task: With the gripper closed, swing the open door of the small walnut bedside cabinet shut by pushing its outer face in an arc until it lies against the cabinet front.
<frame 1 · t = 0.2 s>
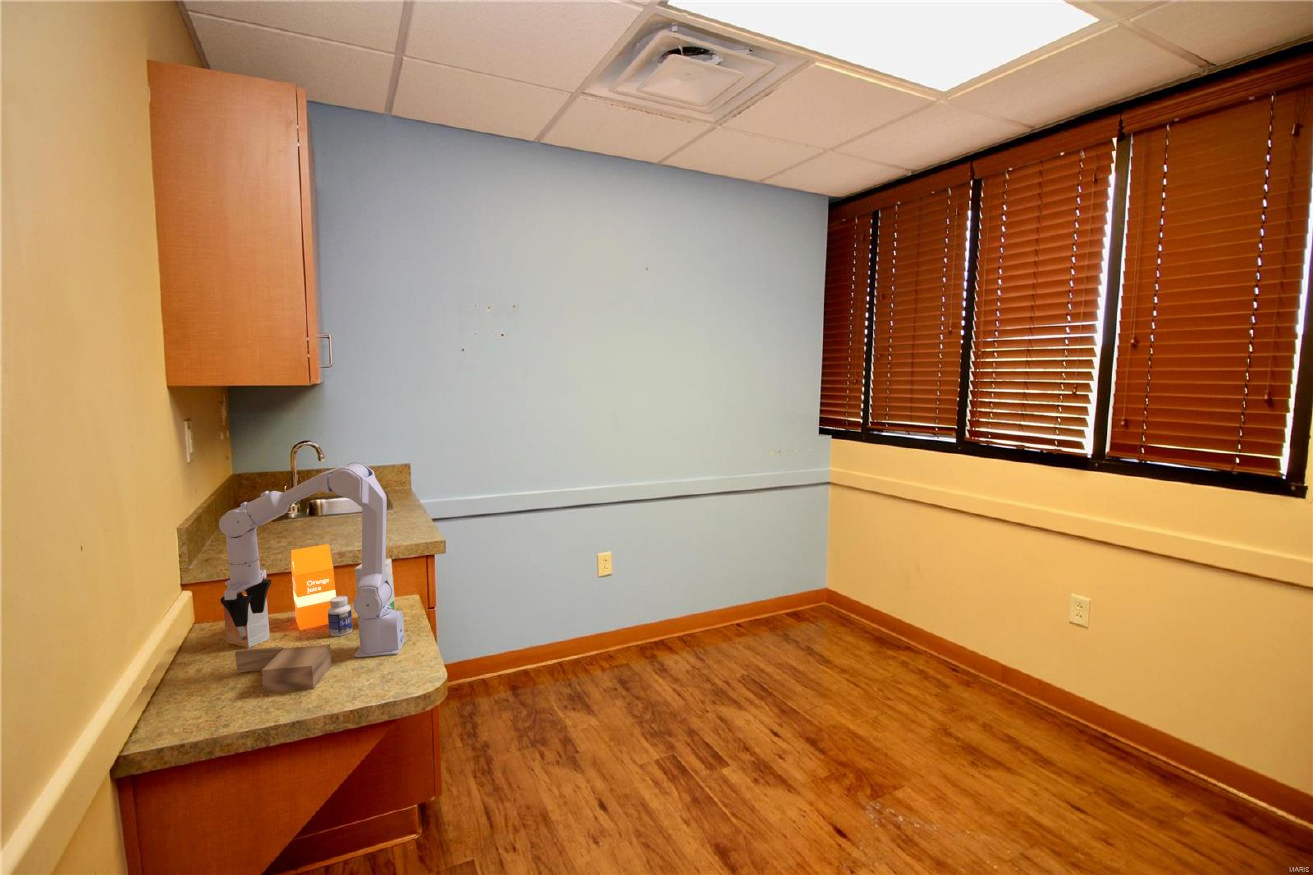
hand: (249, 619, 140), 10 cm above the countertop, fingers open, 7 cm apart
skincare box: (377, 621, 163), on the countertop
small box: (248, 642, 152), on the countertop
door: (262, 659, 136), point 3 cm above the countertop, hinge at 90.0°
cabinet: (299, 679, 132), on the countertop
pill bottle: (341, 633, 156), on the countertop
orange juice: (316, 621, 163), on the countertop
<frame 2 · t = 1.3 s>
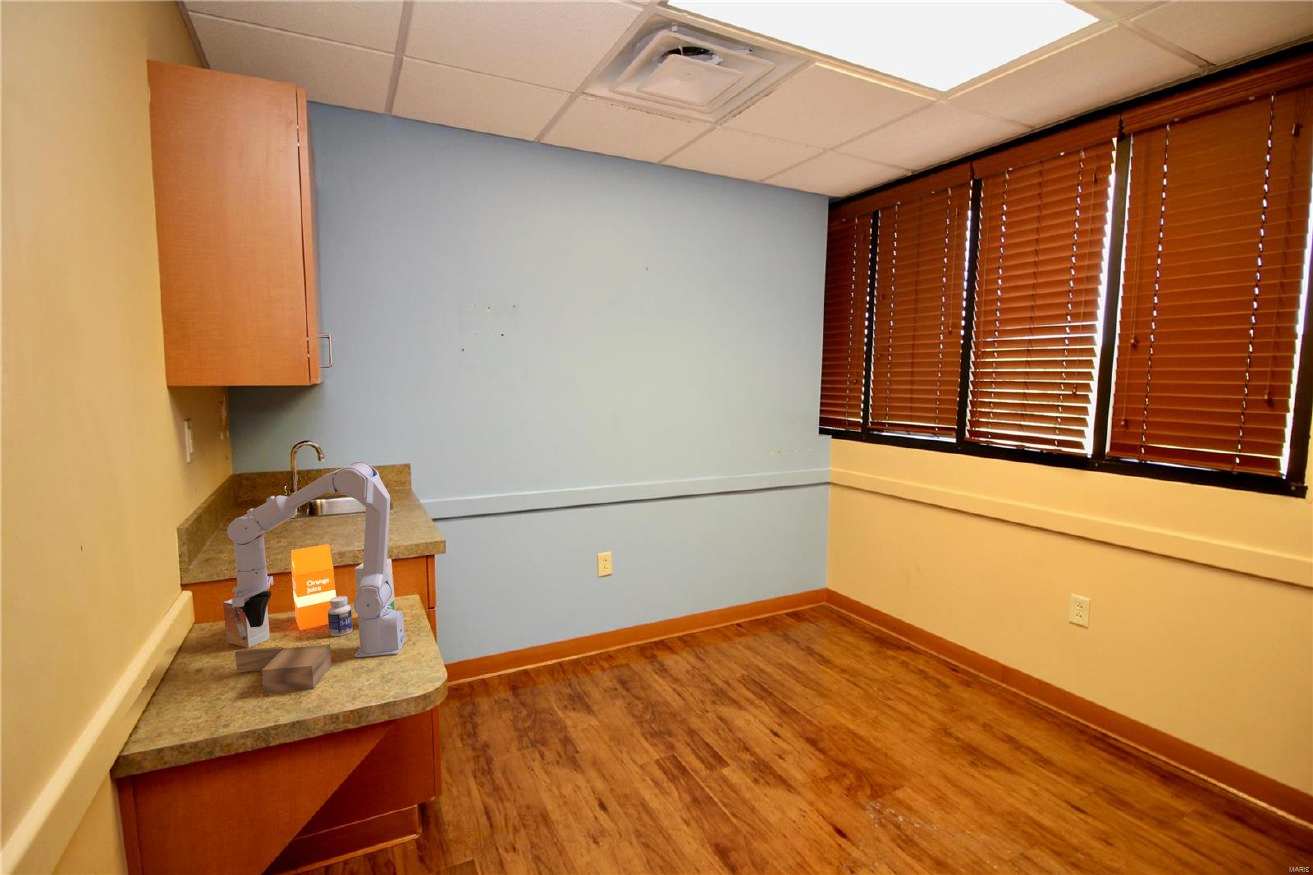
hand: (256, 626, 140), 8 cm above the countertop, fingers closed
nothing on the countertop moved.
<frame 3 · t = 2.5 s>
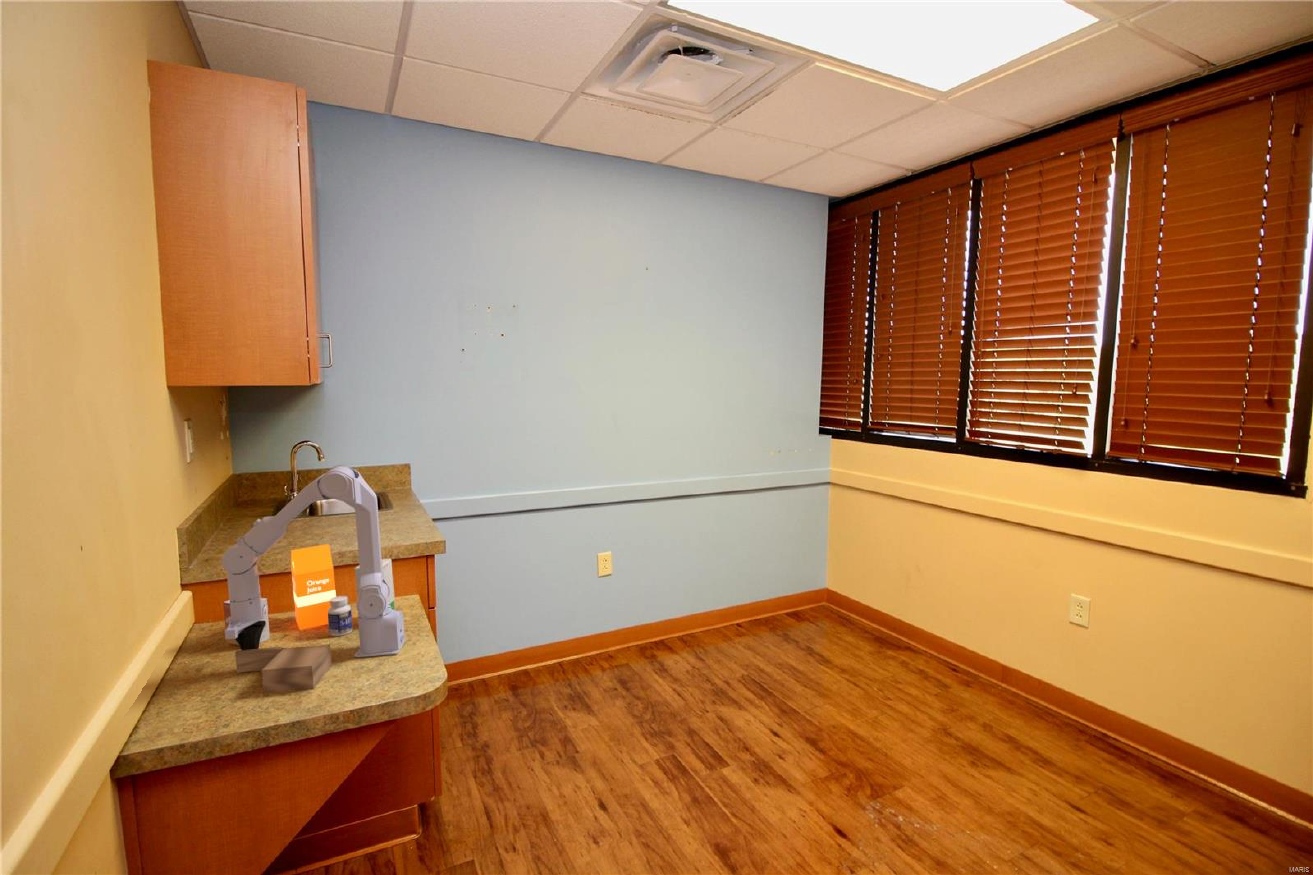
hand: (251, 656, 137), 3 cm above the countertop, fingers closed
door: (262, 659, 136), point 3 cm above the countertop, hinge at 90.0°, touching gripper
everything else where it was.
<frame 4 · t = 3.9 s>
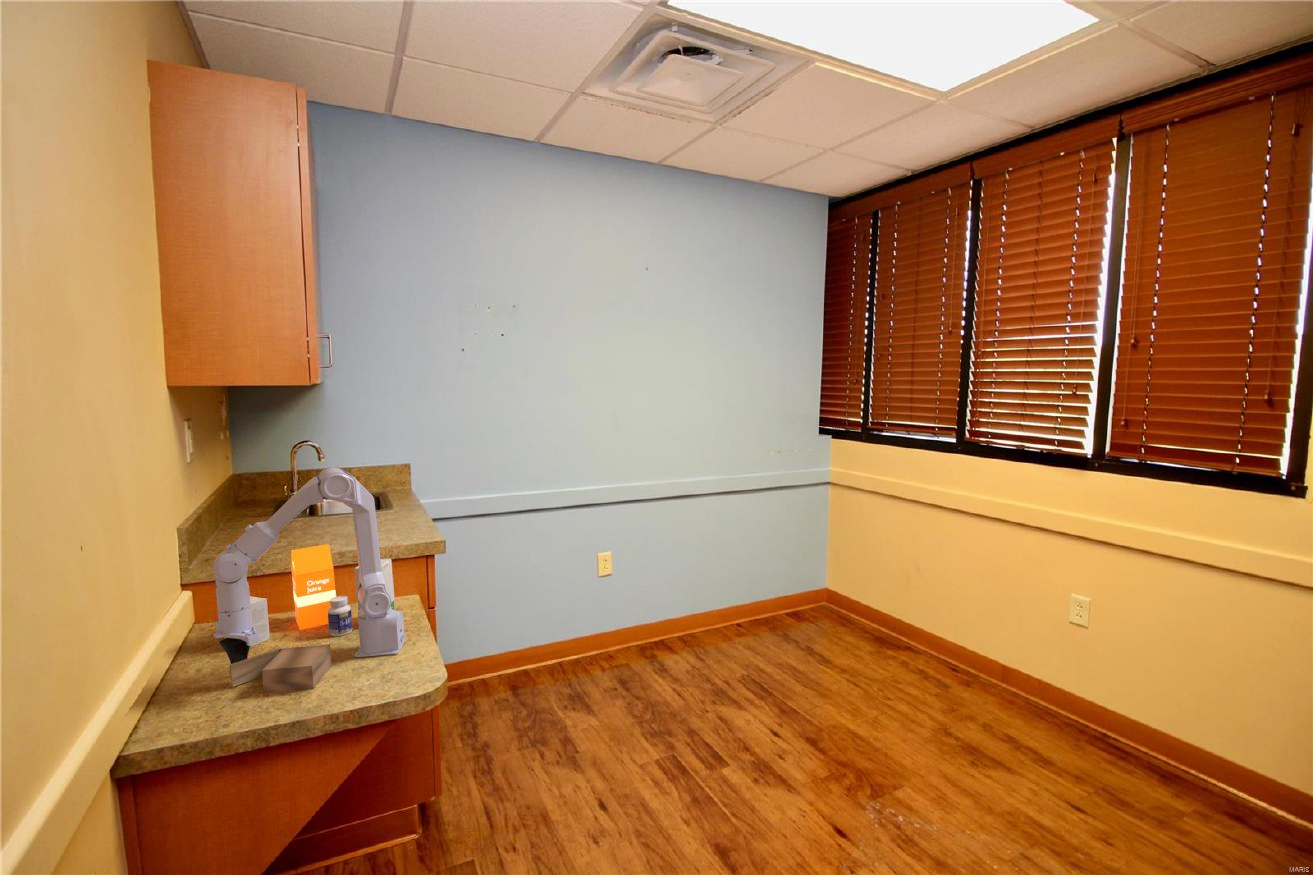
hand: (239, 669, 131), 3 cm above the countertop, fingers closed, pressing on door
door: (257, 666, 133), point 3 cm above the countertop, hinge at 45.5°, touching gripper
everything else where it was.
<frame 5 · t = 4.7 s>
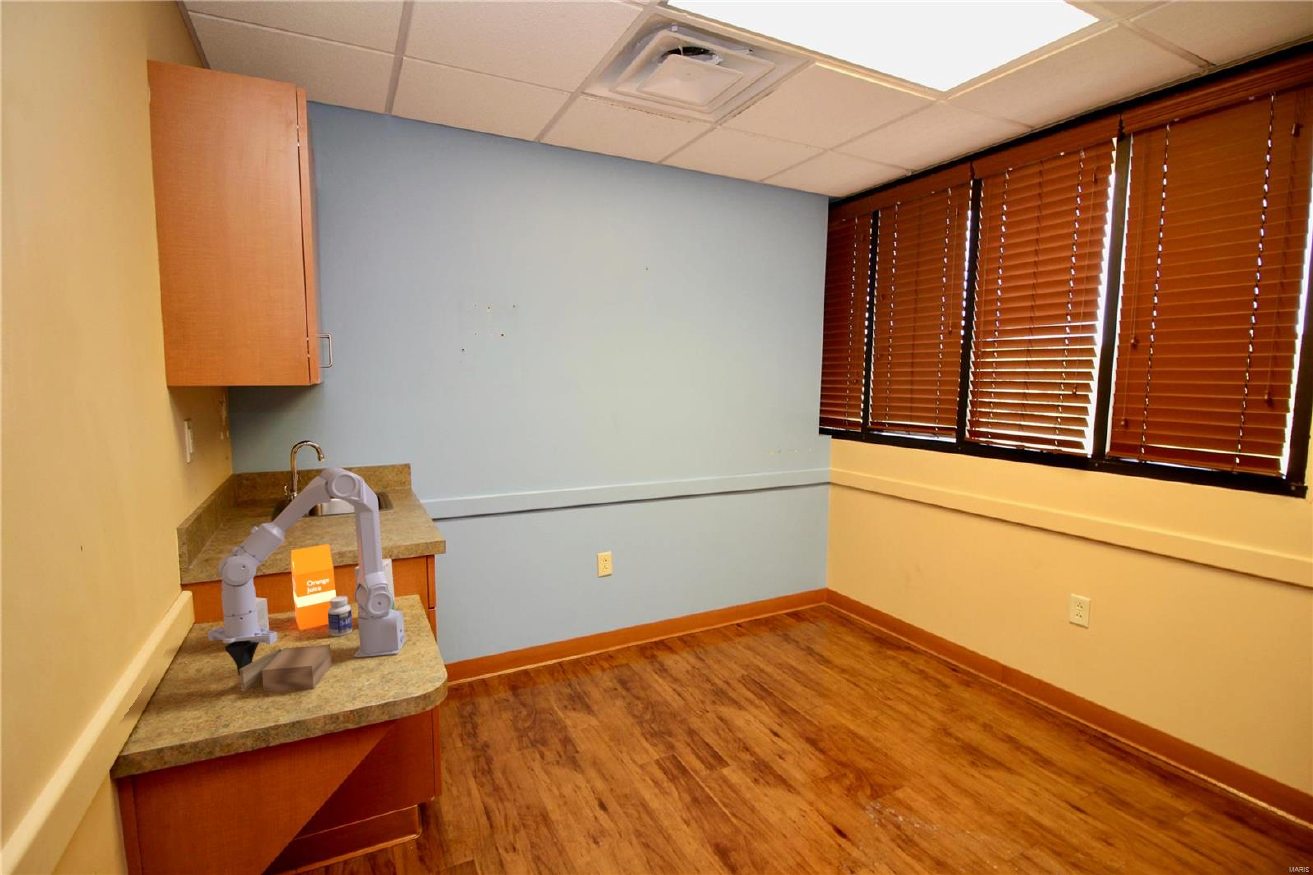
hand: (245, 674, 129), 3 cm above the countertop, fingers closed, pressing on door
door: (262, 668, 132), point 3 cm above the countertop, hinge at 21.0°, touching gripper
everything else where it was.
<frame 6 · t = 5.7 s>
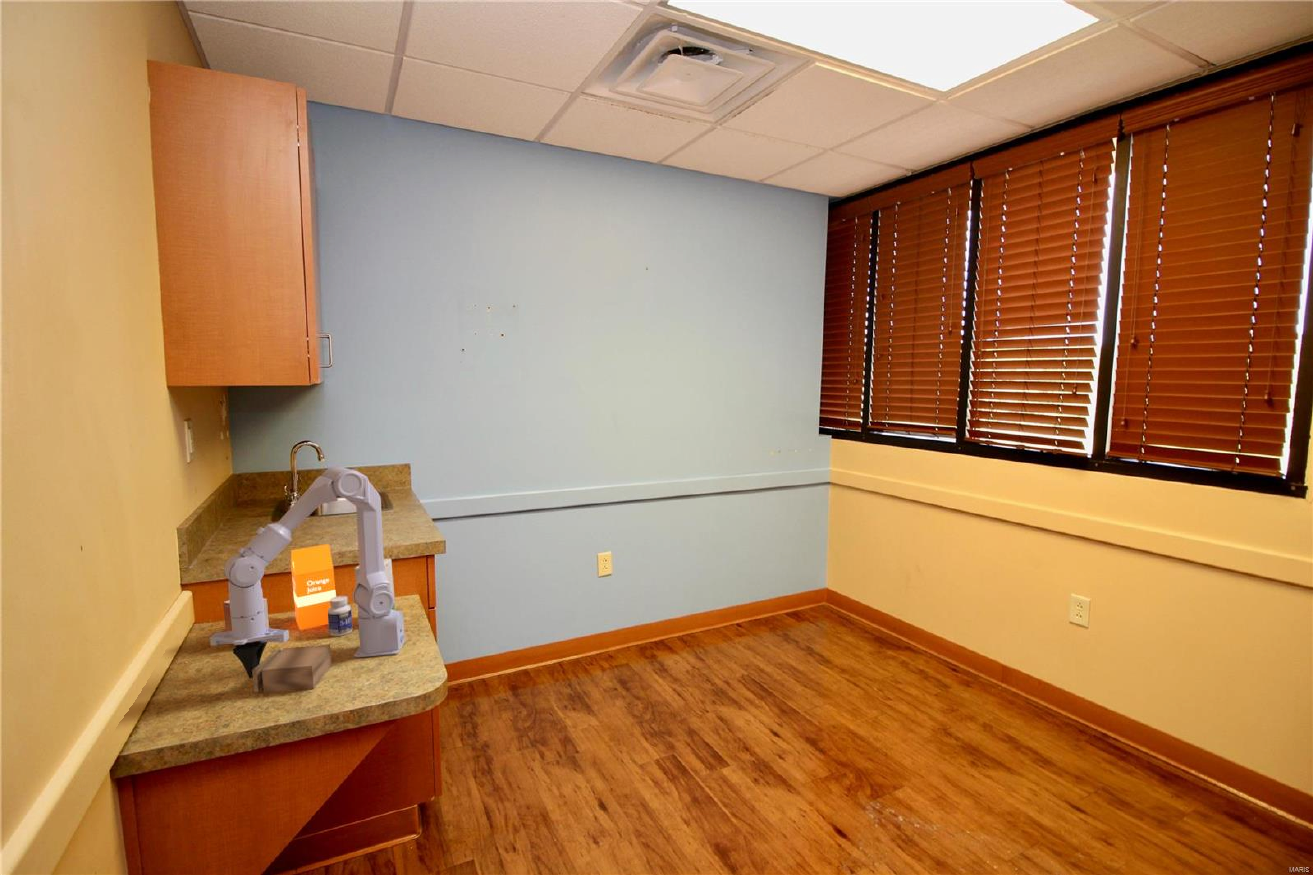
hand: (253, 676, 128), 3 cm above the countertop, fingers closed
door: (267, 669, 131), point 3 cm above the countertop, hinge at 3.3°, touching gripper
everything else where it was.
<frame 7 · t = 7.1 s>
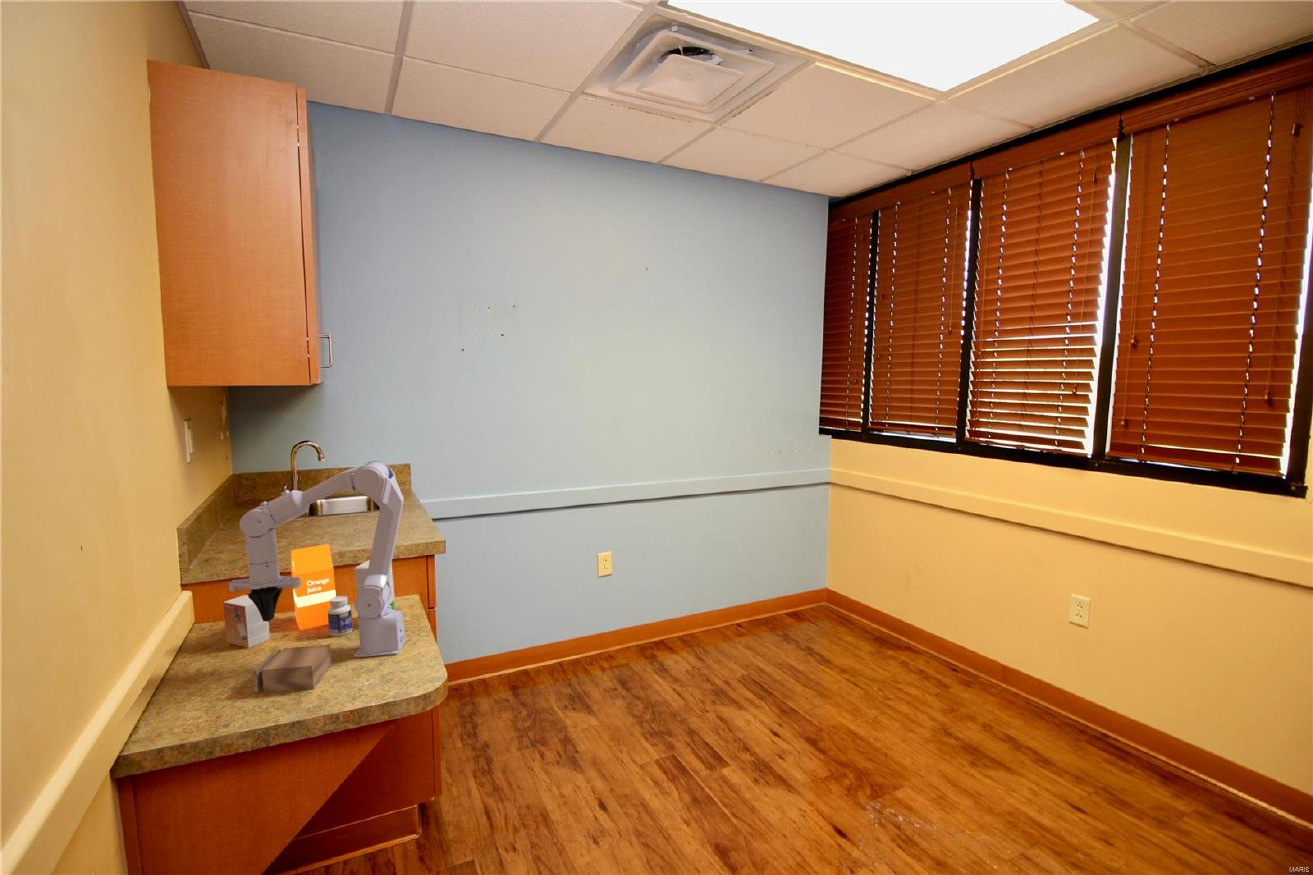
hand: (268, 619, 139), 10 cm above the countertop, fingers closed
door: (267, 669, 131), point 3 cm above the countertop, hinge at 3.2°
everything else where it was.
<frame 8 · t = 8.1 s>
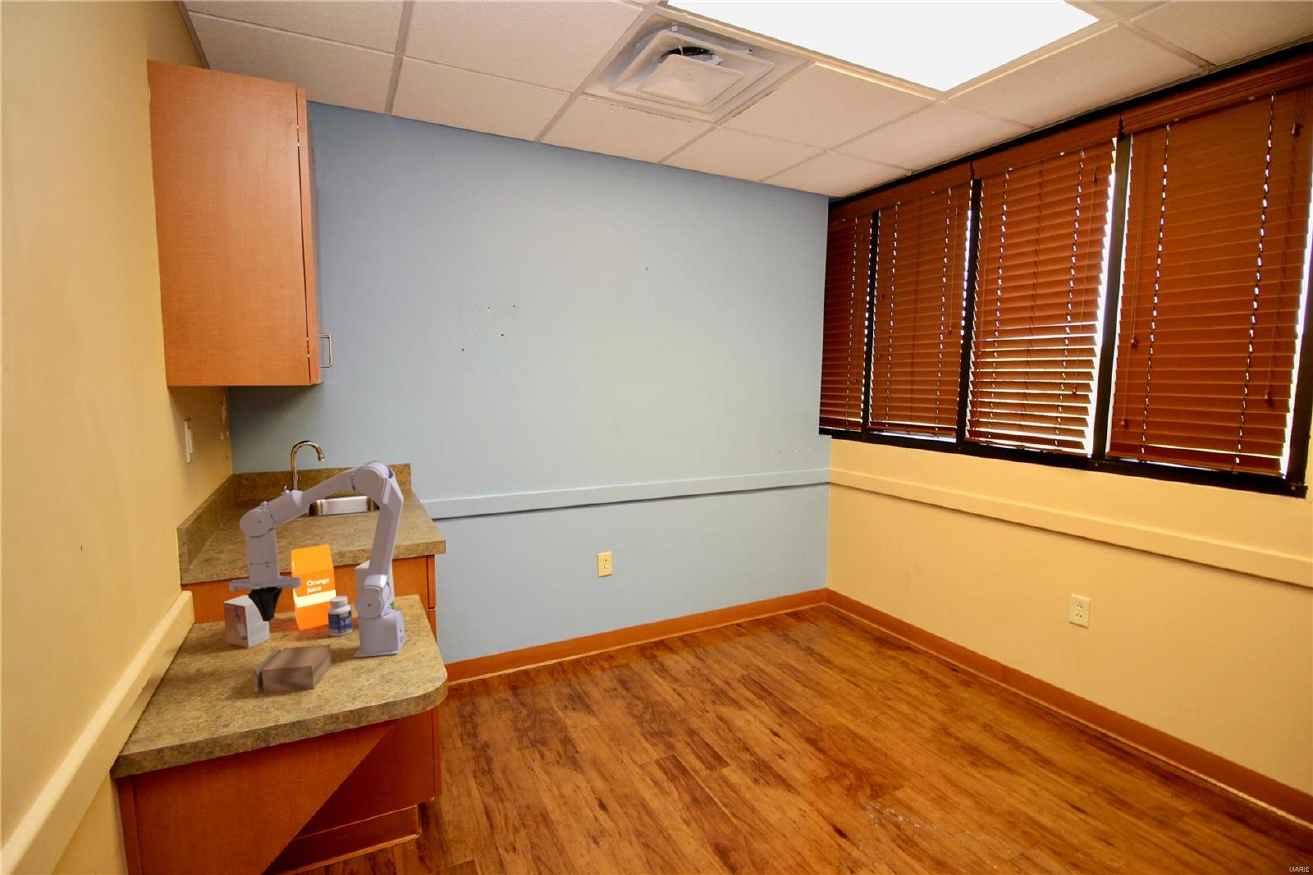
hand: (268, 619, 139), 10 cm above the countertop, fingers closed
nothing on the countertop moved.
at the end: door at +3° (first picture: +90°); door touching nothing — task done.
